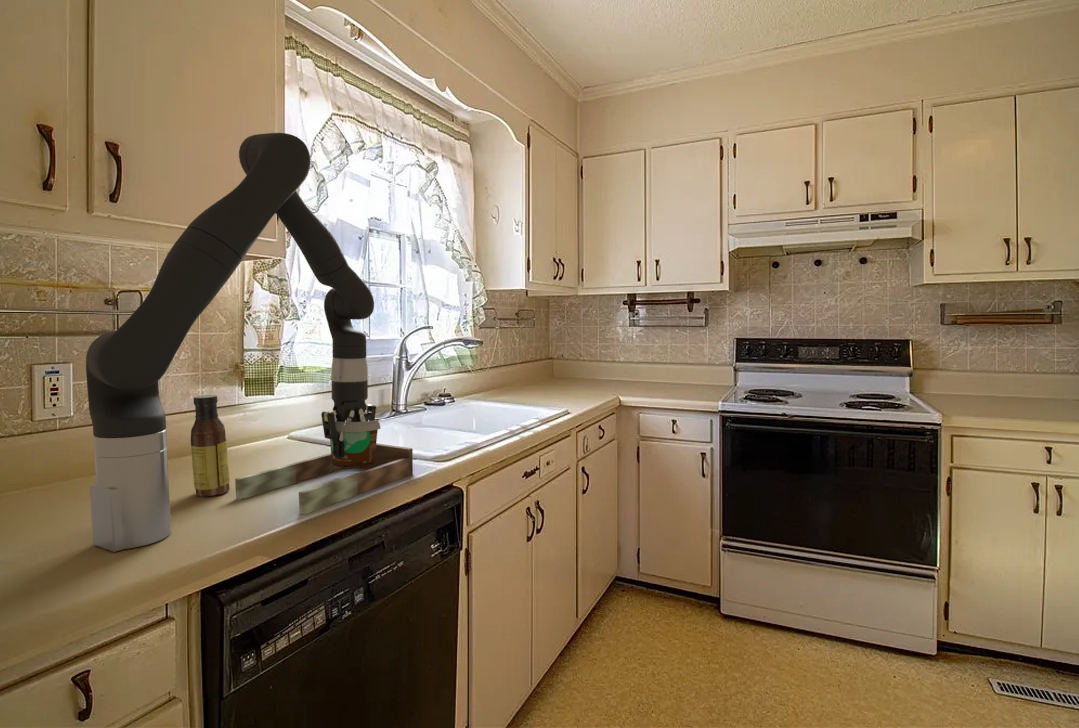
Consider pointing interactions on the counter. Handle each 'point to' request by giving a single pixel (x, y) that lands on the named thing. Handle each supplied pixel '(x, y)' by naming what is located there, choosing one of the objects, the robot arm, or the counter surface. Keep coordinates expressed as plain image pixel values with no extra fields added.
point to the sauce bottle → (209, 449)
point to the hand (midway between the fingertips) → (350, 454)
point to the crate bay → (385, 469)
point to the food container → (357, 443)
